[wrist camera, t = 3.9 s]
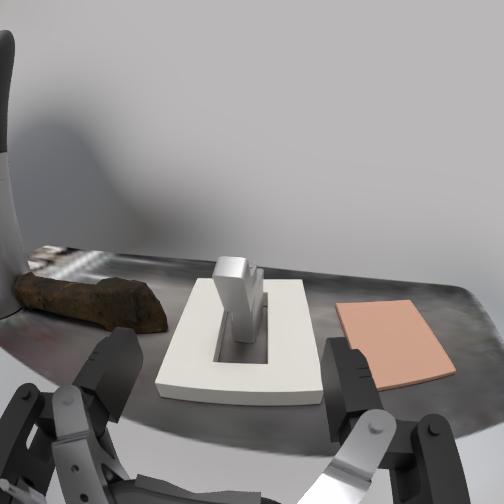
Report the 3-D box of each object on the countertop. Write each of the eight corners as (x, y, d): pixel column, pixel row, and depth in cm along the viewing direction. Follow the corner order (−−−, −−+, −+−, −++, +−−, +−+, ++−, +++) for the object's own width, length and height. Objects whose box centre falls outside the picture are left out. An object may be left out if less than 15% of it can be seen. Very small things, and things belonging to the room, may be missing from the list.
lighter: (243, 310, 24) (241, 223, 21) (263, 312, 24) (263, 224, 20) (222, 368, 17) (210, 265, 14) (246, 371, 17) (242, 268, 14)
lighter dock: (160, 396, 15) (155, 382, 14) (199, 291, 27) (197, 278, 26) (320, 403, 14) (324, 389, 14) (300, 292, 26) (301, 279, 26)
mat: (363, 393, 15) (365, 389, 15) (335, 307, 24) (336, 303, 24) (454, 374, 14) (456, 370, 14) (408, 303, 23) (409, 299, 23)
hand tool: (21, 313, 21) (6, 277, 19) (41, 295, 25) (29, 261, 23) (156, 356, 19) (141, 308, 17) (174, 325, 22) (165, 278, 20)
